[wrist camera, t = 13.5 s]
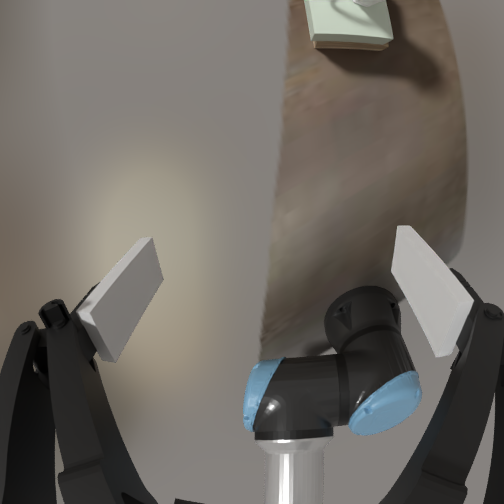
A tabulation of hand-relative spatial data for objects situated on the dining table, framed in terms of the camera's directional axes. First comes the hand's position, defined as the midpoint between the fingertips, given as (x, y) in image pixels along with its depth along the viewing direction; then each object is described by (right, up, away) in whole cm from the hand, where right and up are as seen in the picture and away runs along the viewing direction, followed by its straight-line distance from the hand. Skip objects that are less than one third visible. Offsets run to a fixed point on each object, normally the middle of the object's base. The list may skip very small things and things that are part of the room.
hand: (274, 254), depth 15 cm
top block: (+11, +33, +10) cm, 36 cm away
